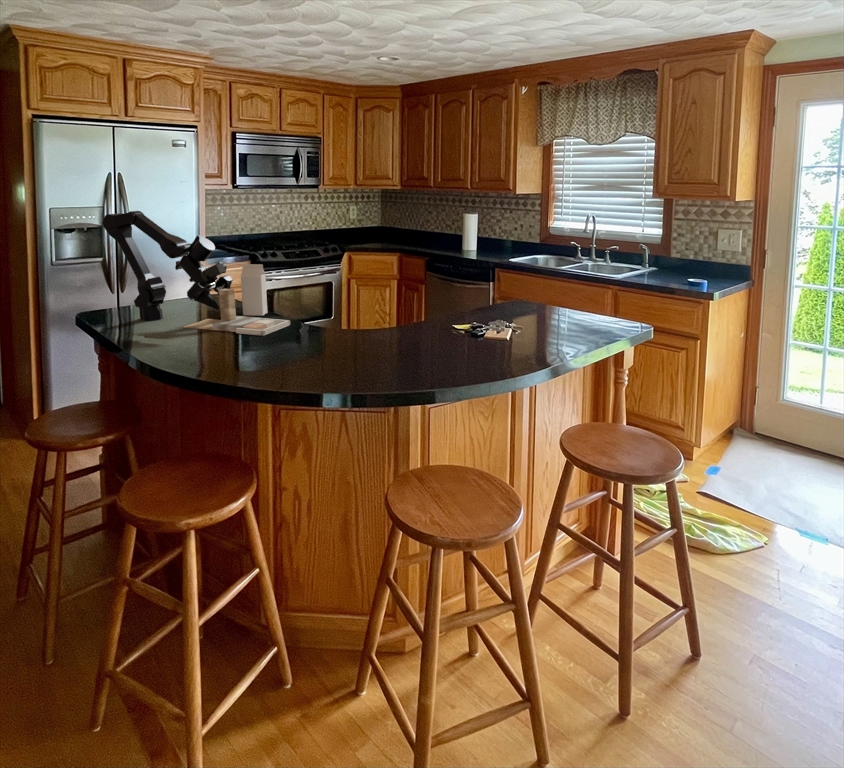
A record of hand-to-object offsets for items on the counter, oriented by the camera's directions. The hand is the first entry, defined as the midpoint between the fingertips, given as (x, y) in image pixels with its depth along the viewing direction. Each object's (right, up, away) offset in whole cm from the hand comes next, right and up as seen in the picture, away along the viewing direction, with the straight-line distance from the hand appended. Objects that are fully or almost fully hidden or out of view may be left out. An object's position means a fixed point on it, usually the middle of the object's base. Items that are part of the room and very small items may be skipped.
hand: (226, 306), depth 247 cm
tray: (+13, -9, -2) cm, 16 cm away
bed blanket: (+4, -7, +1) cm, 7 cm away
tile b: (+10, -9, -5) cm, 14 cm away
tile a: (+12, -7, +1) cm, 14 cm away
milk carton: (+5, -2, +22) cm, 23 cm away
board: (-2, -7, +3) cm, 8 cm away
